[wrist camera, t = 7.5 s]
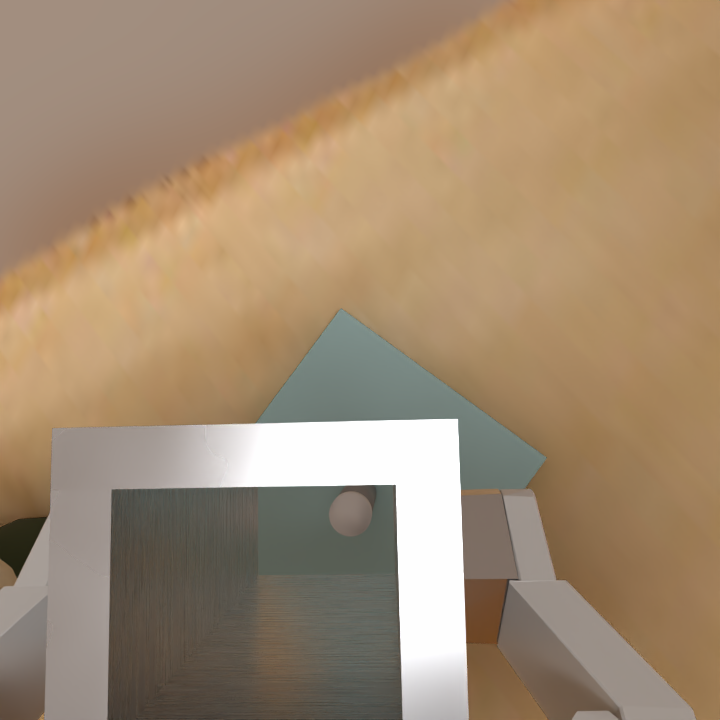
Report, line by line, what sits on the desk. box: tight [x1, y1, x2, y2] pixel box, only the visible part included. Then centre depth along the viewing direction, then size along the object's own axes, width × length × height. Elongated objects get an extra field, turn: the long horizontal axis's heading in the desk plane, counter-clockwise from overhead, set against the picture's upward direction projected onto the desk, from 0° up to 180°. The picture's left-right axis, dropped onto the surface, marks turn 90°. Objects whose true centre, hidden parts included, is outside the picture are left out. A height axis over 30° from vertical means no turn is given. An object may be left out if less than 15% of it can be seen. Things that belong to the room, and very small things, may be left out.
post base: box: [255, 309, 547, 575], centre depth 25 cm, size 12×11×7 cm
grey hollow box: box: [44, 419, 469, 720], centre depth 11 cm, size 4×5×8 cm
